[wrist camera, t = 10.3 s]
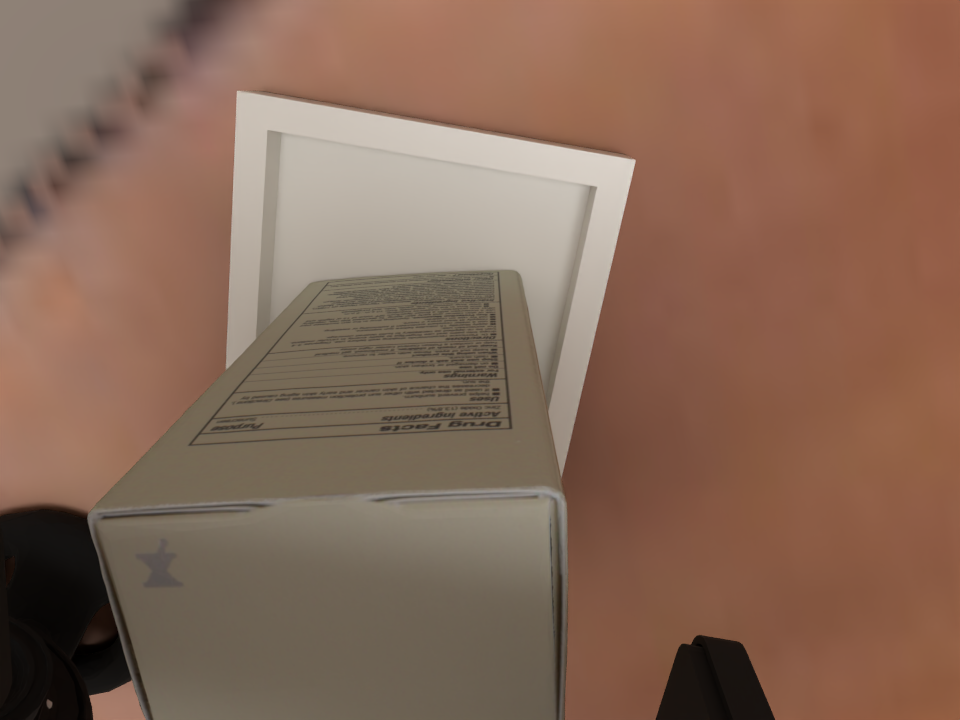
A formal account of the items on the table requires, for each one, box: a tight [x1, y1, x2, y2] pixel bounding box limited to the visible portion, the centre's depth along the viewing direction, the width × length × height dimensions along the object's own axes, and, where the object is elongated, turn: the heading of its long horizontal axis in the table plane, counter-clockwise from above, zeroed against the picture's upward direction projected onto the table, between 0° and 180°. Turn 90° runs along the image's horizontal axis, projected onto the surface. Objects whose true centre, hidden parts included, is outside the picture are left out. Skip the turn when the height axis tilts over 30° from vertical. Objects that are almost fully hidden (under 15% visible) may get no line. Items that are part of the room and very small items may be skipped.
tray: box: [226, 91, 636, 478], centre depth 21 cm, size 10×12×2 cm
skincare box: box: [87, 270, 568, 720], centre depth 15 cm, size 6×4×12 cm
